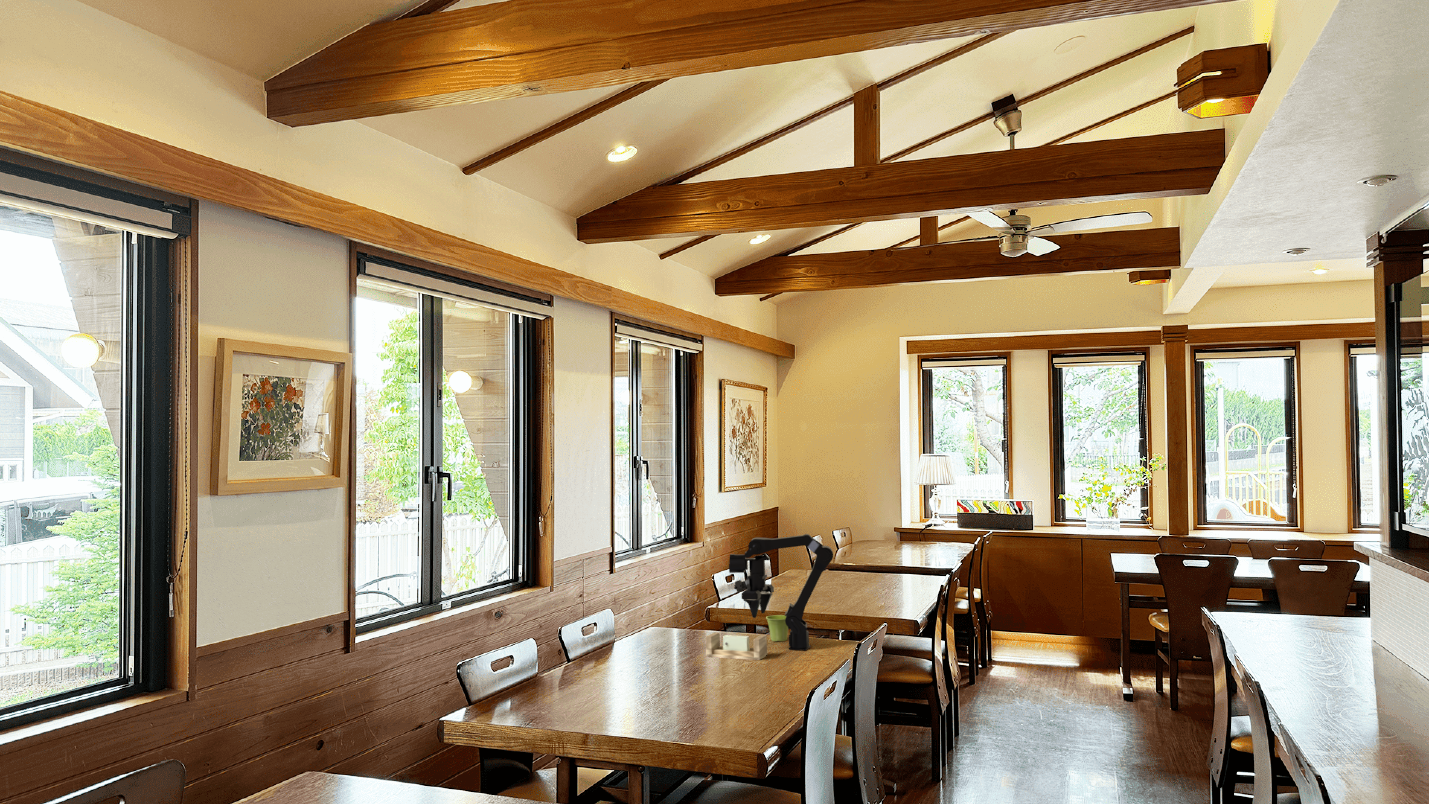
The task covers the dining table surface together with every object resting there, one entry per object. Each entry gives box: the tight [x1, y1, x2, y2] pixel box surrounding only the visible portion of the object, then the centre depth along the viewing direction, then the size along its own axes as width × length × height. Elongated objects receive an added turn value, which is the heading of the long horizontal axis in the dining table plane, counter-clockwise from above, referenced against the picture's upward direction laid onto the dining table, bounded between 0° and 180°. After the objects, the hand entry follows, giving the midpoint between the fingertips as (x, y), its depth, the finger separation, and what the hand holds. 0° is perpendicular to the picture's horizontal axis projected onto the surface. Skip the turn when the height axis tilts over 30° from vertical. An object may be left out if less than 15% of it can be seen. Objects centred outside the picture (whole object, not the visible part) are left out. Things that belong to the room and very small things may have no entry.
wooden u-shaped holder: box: [705, 631, 768, 661], centre depth 319 cm, size 20×8×7 cm, turn 67°
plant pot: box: [765, 614, 789, 642], centre depth 343 cm, size 9×9×9 cm
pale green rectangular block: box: [722, 634, 751, 651], centre depth 319 cm, size 9×3×6 cm, turn 68°
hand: (758, 615), depth 330 cm, fingers open, 9 cm apart
